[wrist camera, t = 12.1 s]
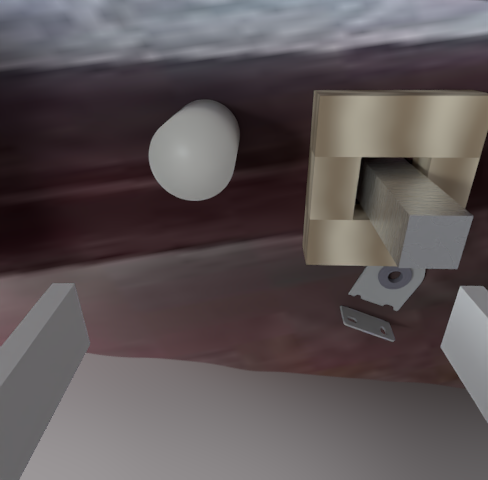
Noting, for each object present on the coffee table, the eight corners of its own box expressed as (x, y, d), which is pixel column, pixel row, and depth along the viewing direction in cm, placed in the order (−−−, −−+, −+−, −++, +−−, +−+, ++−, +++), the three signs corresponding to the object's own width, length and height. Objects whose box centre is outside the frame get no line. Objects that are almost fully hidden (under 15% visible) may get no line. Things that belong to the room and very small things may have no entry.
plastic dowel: (177, 168, 38) (156, 202, 30) (168, 100, 35) (141, 117, 27) (241, 166, 38) (237, 199, 30) (238, 97, 35) (231, 113, 27)
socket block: (302, 245, 41) (306, 264, 38) (314, 90, 34) (319, 95, 30) (432, 247, 41) (448, 267, 37) (472, 90, 33) (497, 95, 30)
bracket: (434, 258, 42) (447, 275, 39) (386, 323, 46) (394, 342, 43) (382, 238, 41) (391, 253, 38) (338, 306, 46) (343, 325, 42)
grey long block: (354, 195, 38) (398, 267, 26) (360, 156, 37) (409, 215, 24) (394, 195, 38) (457, 269, 26) (402, 156, 36) (473, 215, 24)
